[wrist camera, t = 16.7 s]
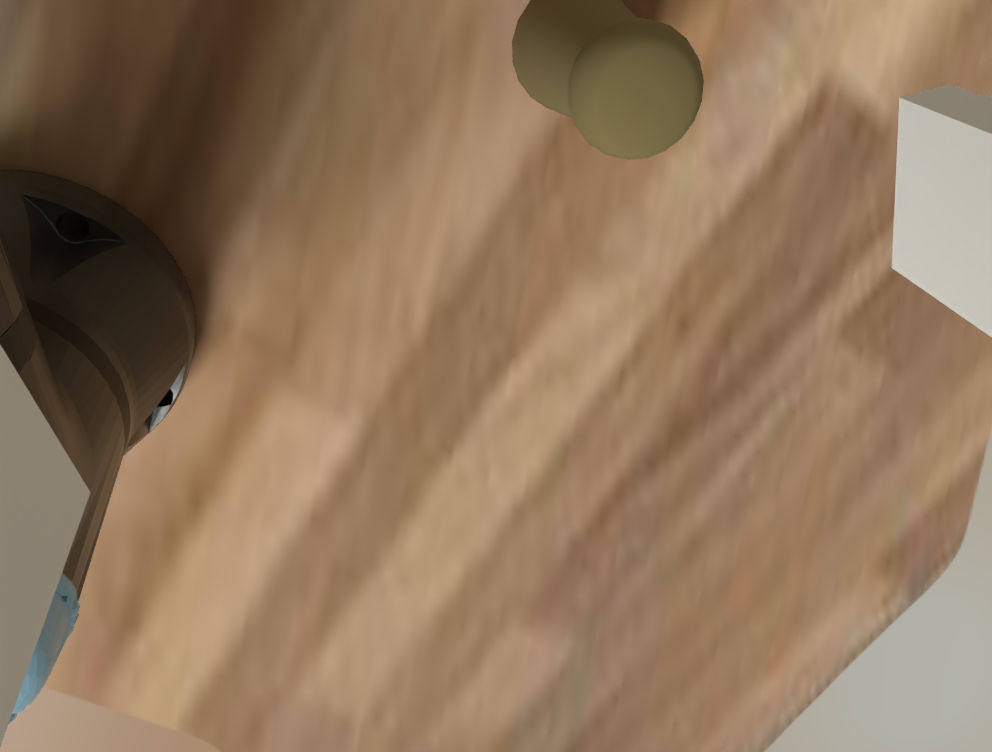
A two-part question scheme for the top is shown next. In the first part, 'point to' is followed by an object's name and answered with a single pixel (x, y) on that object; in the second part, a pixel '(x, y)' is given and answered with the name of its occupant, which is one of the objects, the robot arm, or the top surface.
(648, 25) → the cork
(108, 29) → the top surface
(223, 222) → the top surface
